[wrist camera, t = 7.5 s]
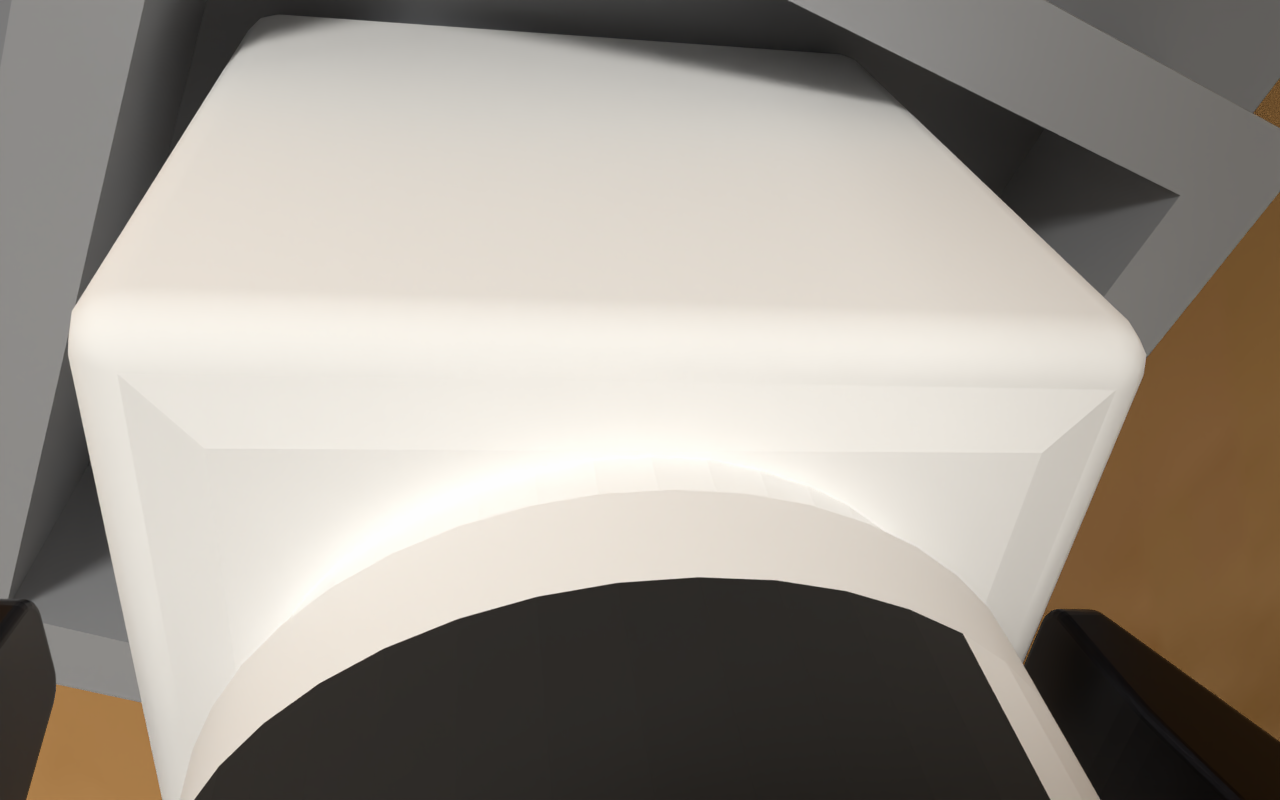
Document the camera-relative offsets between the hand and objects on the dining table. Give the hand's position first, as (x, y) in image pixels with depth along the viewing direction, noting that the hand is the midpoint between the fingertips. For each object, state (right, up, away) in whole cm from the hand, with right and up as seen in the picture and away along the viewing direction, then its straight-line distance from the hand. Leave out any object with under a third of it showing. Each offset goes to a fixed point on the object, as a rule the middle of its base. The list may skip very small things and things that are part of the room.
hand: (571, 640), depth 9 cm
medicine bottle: (-1, +4, +5) cm, 6 cm away
